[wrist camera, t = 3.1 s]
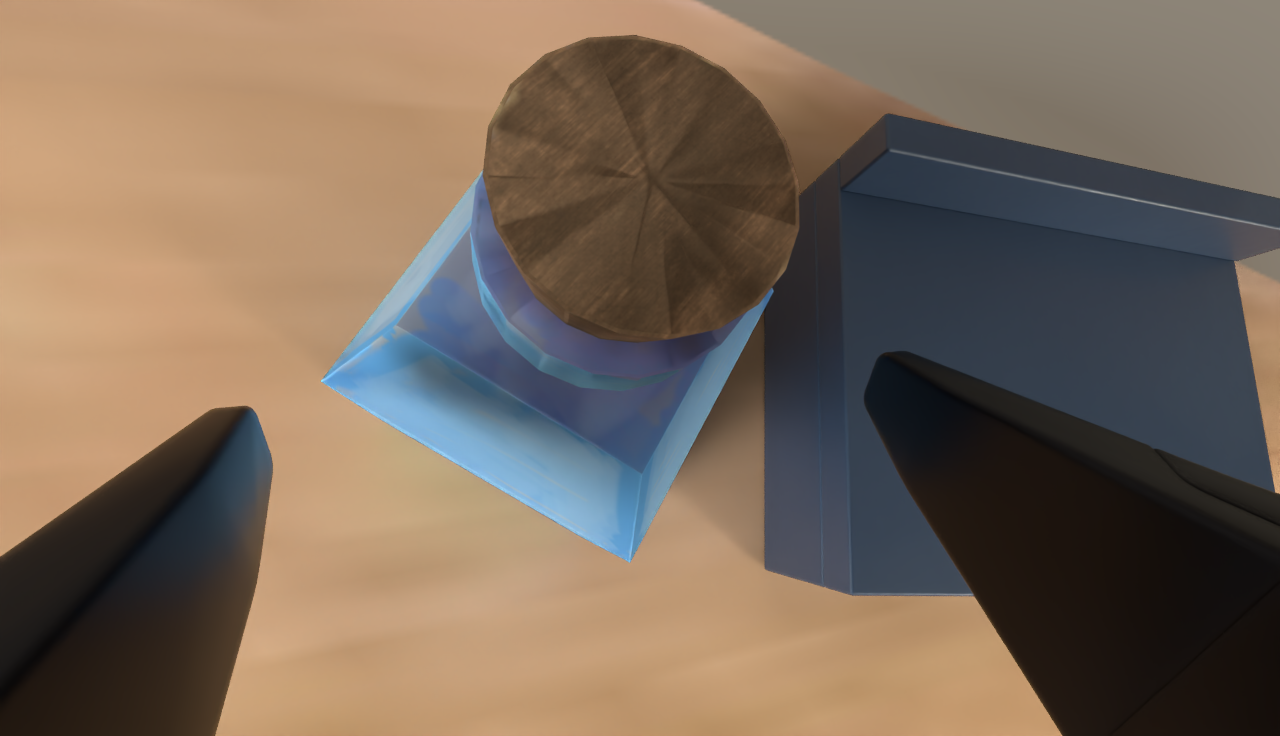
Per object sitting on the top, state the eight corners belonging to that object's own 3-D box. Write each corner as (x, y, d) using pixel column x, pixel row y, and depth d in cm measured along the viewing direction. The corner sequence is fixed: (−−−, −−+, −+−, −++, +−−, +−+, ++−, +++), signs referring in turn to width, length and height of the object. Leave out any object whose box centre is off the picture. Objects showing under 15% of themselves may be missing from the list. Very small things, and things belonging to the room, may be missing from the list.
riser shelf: (1130, 575, 21) (1400, 612, 15) (763, 570, 18) (911, 614, 11) (1093, 280, 23) (1313, 204, 17) (763, 227, 20) (886, 111, 14)
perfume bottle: (580, 536, 17) (781, 641, 5) (383, 420, 16) (115, 250, 4) (682, 354, 18) (999, 134, 7) (509, 244, 18) (546, -199, 6)
